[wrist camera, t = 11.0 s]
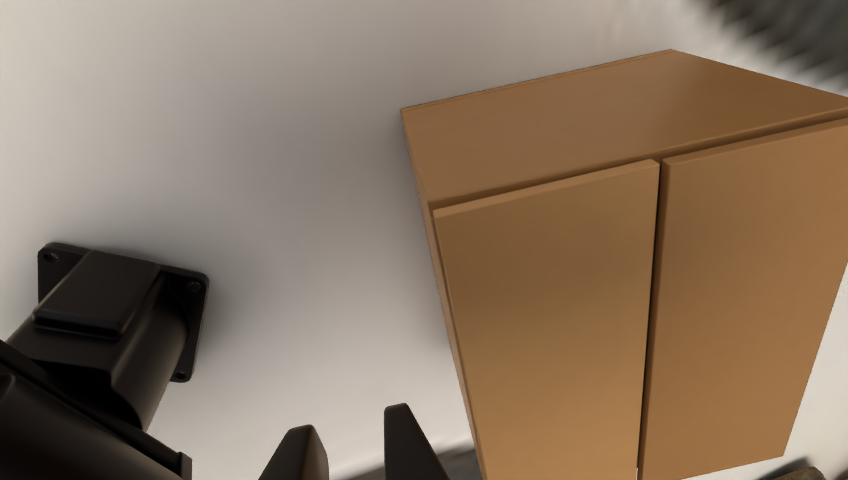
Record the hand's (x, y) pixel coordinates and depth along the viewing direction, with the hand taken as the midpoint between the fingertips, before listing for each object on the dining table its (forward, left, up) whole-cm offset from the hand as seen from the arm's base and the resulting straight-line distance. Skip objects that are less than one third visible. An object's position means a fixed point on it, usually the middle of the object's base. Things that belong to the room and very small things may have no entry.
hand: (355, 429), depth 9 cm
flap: (-1, -7, -4) cm, 8 cm away
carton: (0, -9, -13) cm, 16 cm away
